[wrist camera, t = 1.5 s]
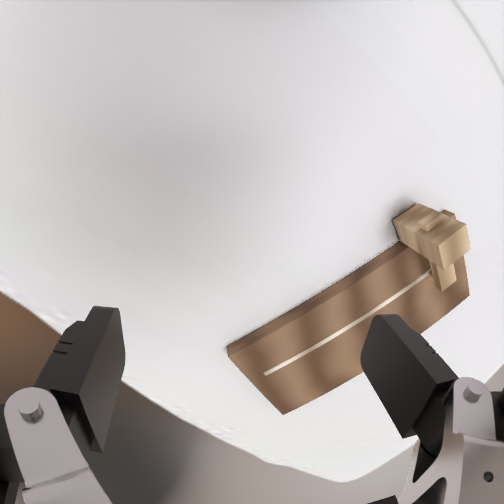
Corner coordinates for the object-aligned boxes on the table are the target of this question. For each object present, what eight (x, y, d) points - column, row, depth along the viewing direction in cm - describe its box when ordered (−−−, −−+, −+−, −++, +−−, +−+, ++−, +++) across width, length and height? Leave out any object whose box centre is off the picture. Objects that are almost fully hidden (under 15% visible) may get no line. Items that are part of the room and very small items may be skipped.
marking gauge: (416, 198, 32) (464, 217, 24) (434, 260, 36) (476, 289, 28) (390, 214, 33) (436, 239, 25) (412, 277, 36) (451, 309, 28)
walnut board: (444, 209, 34) (455, 214, 32) (461, 289, 39) (469, 295, 37) (226, 346, 36) (227, 357, 35) (280, 405, 42) (283, 415, 40)
